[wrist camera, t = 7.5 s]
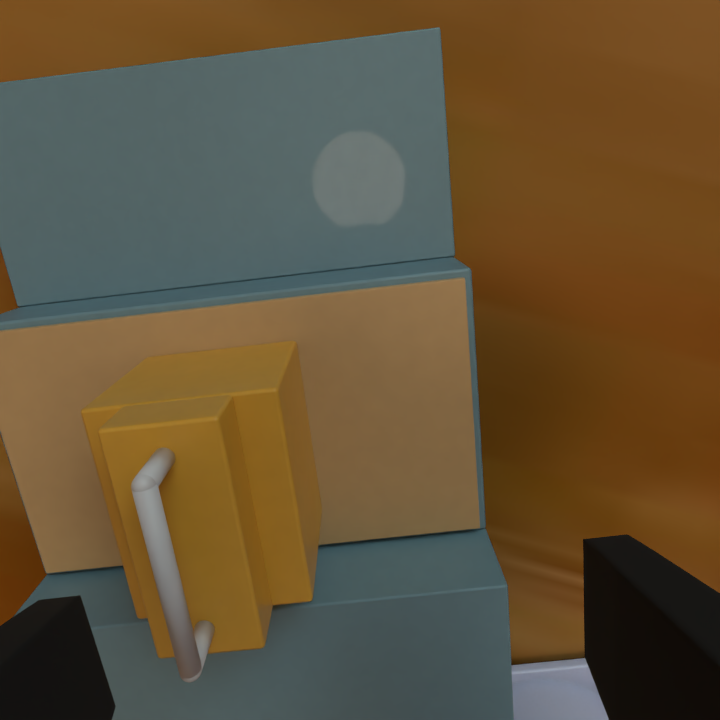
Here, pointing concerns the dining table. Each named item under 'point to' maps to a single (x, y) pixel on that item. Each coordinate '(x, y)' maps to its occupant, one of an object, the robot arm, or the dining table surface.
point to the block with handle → (210, 494)
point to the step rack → (254, 327)
